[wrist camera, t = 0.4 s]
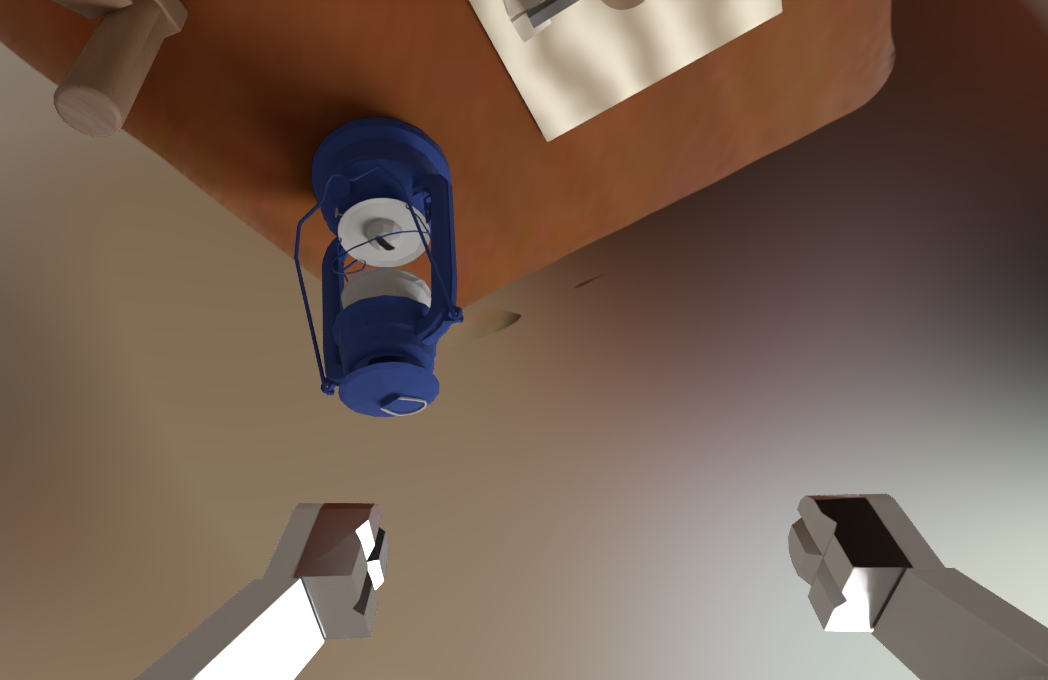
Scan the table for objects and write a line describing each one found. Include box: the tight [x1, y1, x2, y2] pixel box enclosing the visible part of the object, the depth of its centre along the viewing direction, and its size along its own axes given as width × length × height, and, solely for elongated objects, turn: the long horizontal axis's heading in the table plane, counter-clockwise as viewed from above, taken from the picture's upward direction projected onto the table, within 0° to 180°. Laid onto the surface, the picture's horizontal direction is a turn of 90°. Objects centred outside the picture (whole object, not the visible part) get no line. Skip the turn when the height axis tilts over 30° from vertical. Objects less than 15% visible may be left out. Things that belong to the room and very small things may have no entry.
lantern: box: [294, 117, 463, 417], centre depth 54 cm, size 17×15×30 cm
